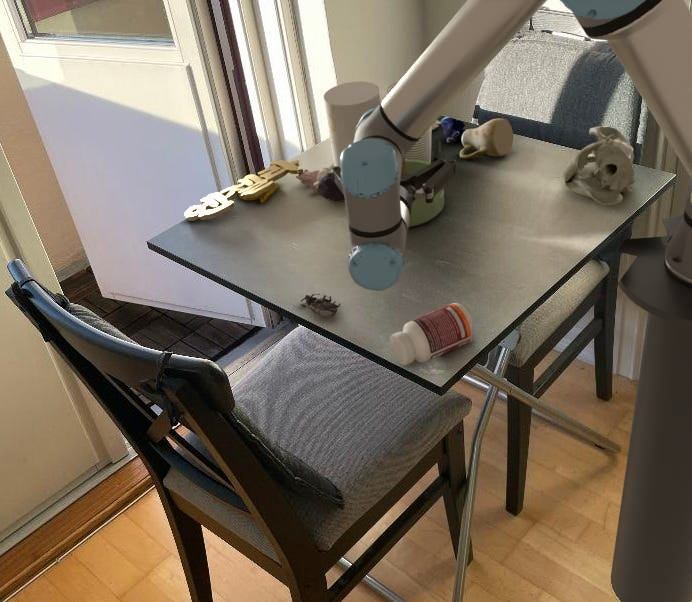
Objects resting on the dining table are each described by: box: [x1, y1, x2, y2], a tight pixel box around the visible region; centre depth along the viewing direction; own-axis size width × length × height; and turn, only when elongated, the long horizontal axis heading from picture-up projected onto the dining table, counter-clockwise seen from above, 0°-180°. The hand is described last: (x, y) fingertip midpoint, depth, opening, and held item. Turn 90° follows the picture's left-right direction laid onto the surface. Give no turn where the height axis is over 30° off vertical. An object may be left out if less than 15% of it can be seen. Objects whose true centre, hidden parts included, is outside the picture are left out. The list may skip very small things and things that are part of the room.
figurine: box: [295, 165, 345, 203], centre depth 154 cm, size 10×6×15 cm
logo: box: [237, 182, 279, 204], centre depth 160 cm, size 7×1×8 cm
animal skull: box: [562, 125, 636, 206], centre depth 142 cm, size 18×12×13 cm
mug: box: [459, 117, 514, 160], centre depth 158 cm, size 8×10×10 cm
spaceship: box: [440, 115, 467, 144], centre depth 164 cm, size 7×6×5 cm
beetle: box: [300, 293, 341, 318], centre depth 127 cm, size 4×7×3 cm, turn 28°
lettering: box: [184, 159, 301, 222], centre depth 158 cm, size 25×10×1 cm, turn 122°
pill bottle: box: [389, 302, 475, 366], centre depth 115 cm, size 6×6×11 cm
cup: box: [386, 81, 433, 163], centre depth 155 cm, size 8×8×16 cm
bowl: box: [405, 159, 445, 228], centre depth 146 cm, size 14×14×6 cm
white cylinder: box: [323, 81, 382, 167], centre depth 157 cm, size 10×10×16 cm
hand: (398, 148), depth 138 cm, fingers open, 13 cm apart
